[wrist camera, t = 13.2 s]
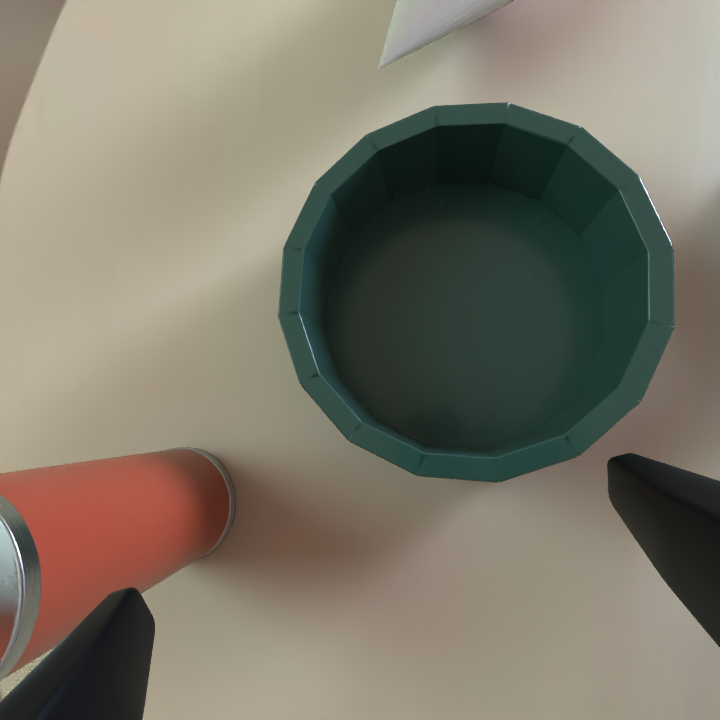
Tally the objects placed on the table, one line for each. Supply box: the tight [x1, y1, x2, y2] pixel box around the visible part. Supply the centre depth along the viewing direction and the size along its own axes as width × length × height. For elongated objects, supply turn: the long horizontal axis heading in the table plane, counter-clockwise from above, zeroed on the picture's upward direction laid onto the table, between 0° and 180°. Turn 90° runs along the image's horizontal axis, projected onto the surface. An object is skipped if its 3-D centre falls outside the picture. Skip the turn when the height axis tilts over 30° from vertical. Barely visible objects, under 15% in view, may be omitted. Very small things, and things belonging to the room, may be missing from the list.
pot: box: [278, 102, 675, 482], centre depth 20 cm, size 15×15×5 cm
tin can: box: [0, 447, 235, 681], centre depth 18 cm, size 6×6×12 cm
